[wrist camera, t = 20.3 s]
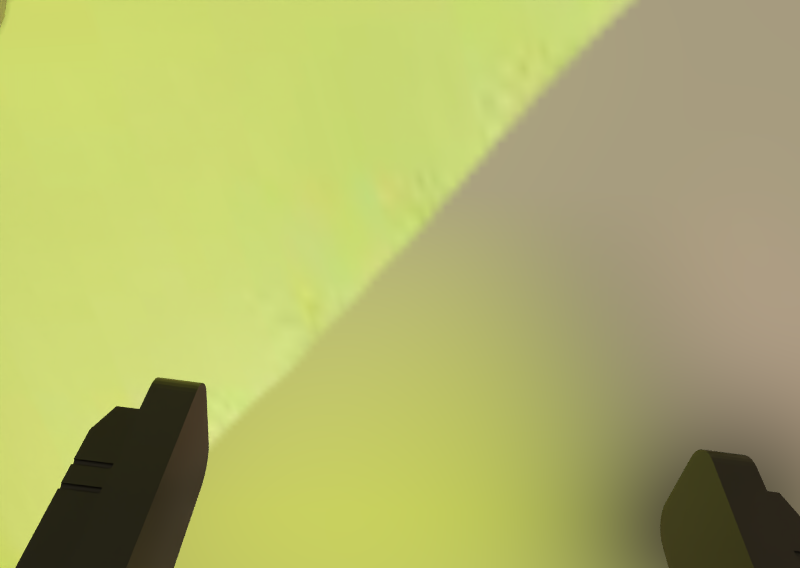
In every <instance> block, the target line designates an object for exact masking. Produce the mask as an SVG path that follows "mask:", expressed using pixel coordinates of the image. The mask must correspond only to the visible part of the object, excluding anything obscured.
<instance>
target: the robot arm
mask: <svg viewBox="0 0 800 568" xmlns="http://www.w3.org/2000/svg"><path fill="white" fill-rule="evenodd" d="M6 1H7V0H0V26H1V24H2V21H3V19H4V16H5V9H6ZM208 450H209V441H208V418H207V396H206V386H205V384H204V383H197V382H190V381H182V380H174V379H166V378H156V379H155V380H154V381H153V383H152V384H151V386H150V388H149V390H148V392H147V395H146V397H145V399H144V401H143V403H142V405H141V407H140V409H134V408H127V407H119V406H116V407H115V408H114V409H113V410H112V411H111V412H109V413H108V414H107V415H106V416H105V417H104V418H103V419H101V420H100V421H99V422H98V423H97V424H96V425H94V426H93V427H92V428H91V429H90V430H89V432H88V434H87V436H86V438H85V439H84V441H83V443H82V445H81V447H80V449H79V451H78V452H77V454H76V456H75V458H74V463H73V464H71V465H70V467H69V469H68V471H67V473H66V475H65V477H64V478H63V480H62V482H61V487H60V489H58V490H57V491H56V493H55V495H54V497H53V499H52V501H51V503H50V504H49V506H48V508H47V510H46V512H45V514H44V516H43V517H42V519H41V521H40V523H39V525H38V527H37V529H36V530H35V532H34V534H33V536H32V538H31V540H30V542H29V543H28V545H27V547H26V549H25V551H24V553H23V555H22V556H21V558H20V560H19V562H18V564H17V566H16V568H174V566H175V563H176V560H177V557H178V554H179V551H180V548H181V545H182V542H183V539H184V536H185V533H186V530H187V527H188V524H189V521H190V518H191V516H192V512H193V510H194V507H195V504H196V501H197V498H198V495H199V492H200V489H201V486H202V483H203V479H204V476H205V471H206V466H207V460H208ZM660 531H661V541H662V545H663V549H664V552H665V556H666V559H667V563H668V567H669V568H800V516H799V515H798V514H797V512H796V511H795V510H794V509H793V508H792V507H791V506H790V505H789V503H788V502H787V501H786V500H785V499H784V498H783V497H782V496H781V494H780V493H777V492H769V491H767V490H766V487H765V485H764V483H763V481H762V478H761V476H760V474H759V472H758V469H757V467H756V465H755V463H754V462H753V461H752V459H751V458H749V457H748V456H746V455H740V454H732V453H724V452H717V451H709V450H698V451H696V452H695V453H694V454H693V455H692V457H691V459H690V461H689V462H688V464H687V466H686V467H685V469H684V471H683V473H682V475H681V476H680V478H679V480H678V482H677V483H676V485H675V487H674V489H673V491H672V492H671V494H670V496H669V498H668V499H667V501H666V503H665V505H664V508H663V511H662V515H661V524H660Z"/></svg>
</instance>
